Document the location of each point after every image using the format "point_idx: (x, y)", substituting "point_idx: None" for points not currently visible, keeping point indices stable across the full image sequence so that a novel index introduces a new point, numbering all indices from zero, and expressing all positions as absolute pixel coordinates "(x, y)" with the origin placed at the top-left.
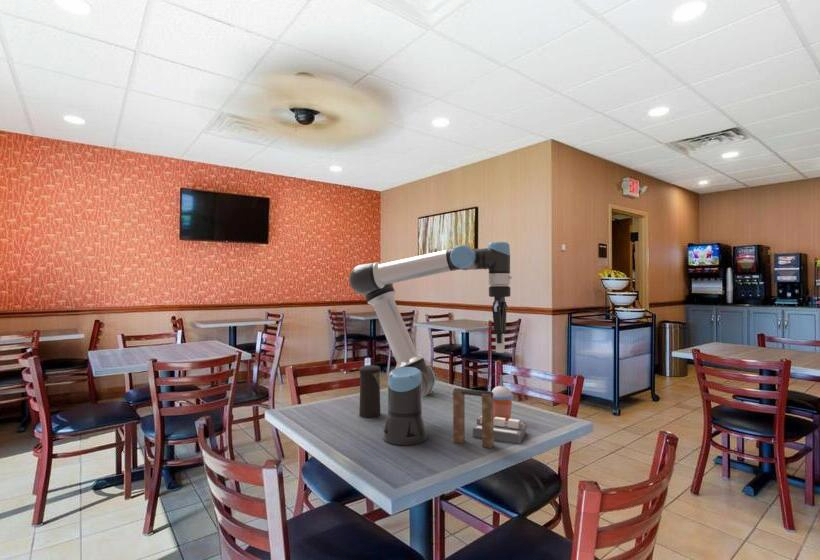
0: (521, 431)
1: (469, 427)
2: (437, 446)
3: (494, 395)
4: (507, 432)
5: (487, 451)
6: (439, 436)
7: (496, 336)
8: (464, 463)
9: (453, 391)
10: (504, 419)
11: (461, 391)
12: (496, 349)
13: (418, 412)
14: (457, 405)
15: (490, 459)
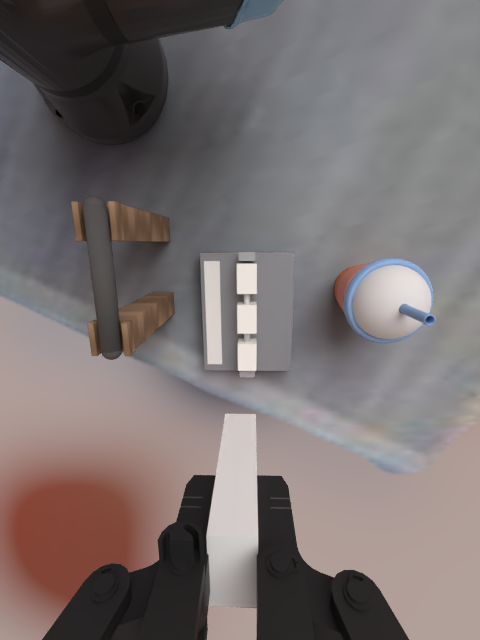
0: (232, 370)
1: (271, 219)
2: (98, 193)
3: (358, 285)
4: (207, 343)
5: None
6: (164, 167)
7: (212, 516)
8: (45, 286)
9: (72, 204)
10: (243, 333)
11: (81, 239)
12: (223, 429)
13: (54, 91)
14: None
15: None
